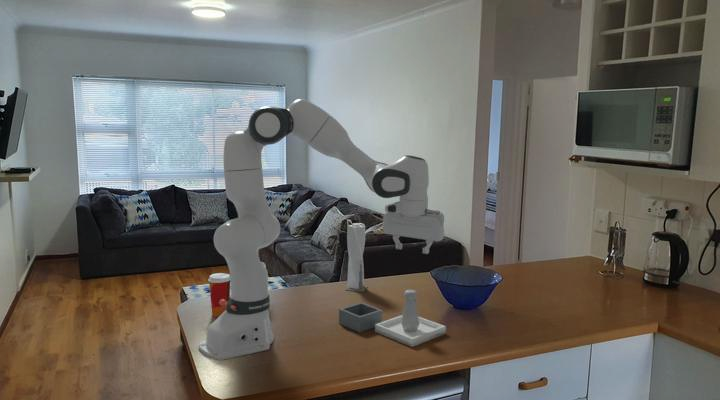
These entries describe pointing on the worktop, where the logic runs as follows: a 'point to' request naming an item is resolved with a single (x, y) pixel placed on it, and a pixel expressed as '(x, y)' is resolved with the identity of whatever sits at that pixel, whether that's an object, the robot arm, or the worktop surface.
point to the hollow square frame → (360, 316)
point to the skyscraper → (355, 257)
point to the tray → (421, 335)
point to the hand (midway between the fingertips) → (412, 251)
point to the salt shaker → (410, 312)
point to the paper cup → (219, 292)
